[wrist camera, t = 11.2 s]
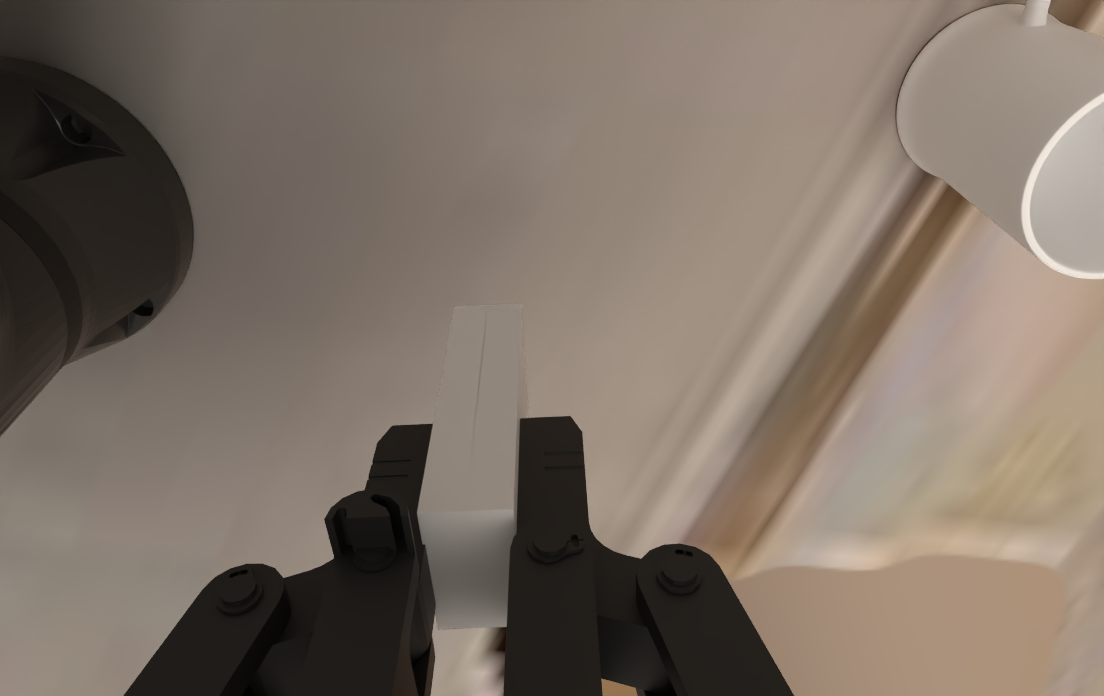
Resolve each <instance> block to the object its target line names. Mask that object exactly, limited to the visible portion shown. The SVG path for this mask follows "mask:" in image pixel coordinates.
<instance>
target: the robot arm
mask: <svg viewBox="0 0 1104 696" xmlns="http://www.w3.org/2000/svg"><path fill="white" fill-rule="evenodd" d="M192 249H193V226H192V218H191V212H190V208H189V204H188V201H187V198H186V195H185V192H184V189H183V187H182V184H181V182H180V180H179V178H178V176H177V174H176V172H175V170H174V168H173V166H172V165H171V163H170V161H169V160H168V158H167V157H166V155H165V154H164V152H163V151H162V149H161V148H160V147H159V145H158V144H157V143H156V141H155V140H154V139H153V138H152V137H151V135H150V134H149V133H148V132H147V131H146V130H145V129H144V128H143V127H142V126H141V124H140V123H139V122H138V121H137V120H136V119H134V118H133V117H132V116H131V115H130V114H129V113H128V112H127V111H126V110H124V109H123V108H122V107H121V106H119V105H118V104H117V103H116V102H114V101H113V100H112V99H110V98H109V97H107V96H106V95H105V94H103V93H101V92H100V91H98V90H97V89H95V88H94V87H92V86H90V85H88V84H86V83H85V82H83V81H81V80H79V79H77V78H75V77H73V76H71V75H69V74H66V73H64V72H61V71H59V70H56V69H53V68H51V67H48V66H45V65H41V64H38V63H34V62H30V61H25V60H20V59H13V58H5V57H0V437H1V435H2V434H3V433H4V432H5V431H6V430H7V429H8V428H9V427H10V425H11V424H12V423H13V422H14V421H15V420H16V419H17V418H18V416H19V415H20V414H21V413H22V412H23V411H24V410H25V409H26V407H27V406H28V405H29V404H30V403H31V402H32V401H33V400H34V399H35V397H36V396H37V395H38V394H39V393H40V392H41V391H42V390H43V388H44V387H45V386H46V385H47V384H48V383H49V382H50V381H51V379H52V378H53V377H54V376H55V375H56V373H57V372H58V371H59V370H60V369H61V368H62V367H63V366H64V365H66V364H69V363H71V362H73V361H76V360H78V359H80V358H83V357H85V356H87V355H90V354H92V353H94V352H97V351H99V350H101V349H104V348H106V347H108V346H111V345H113V344H115V343H118V342H120V341H122V340H124V339H126V338H128V337H130V336H132V335H133V334H135V333H137V332H138V331H139V330H141V329H142V328H143V327H145V326H146V325H147V324H149V323H150V322H151V321H152V320H153V319H154V318H155V317H156V316H157V315H158V314H159V313H160V312H161V310H162V309H163V308H164V307H165V305H166V304H167V303H168V302H169V300H170V299H171V298H172V297H173V295H174V294H175V293H176V291H177V290H178V289H179V287H180V285H181V284H182V282H183V280H184V278H185V276H186V273H187V270H188V268H189V264H190V260H191V255H192ZM324 520H325V524H326V528H327V531H328V535H329V539H330V543H331V546H332V550H333V554H334V559H333V560H331V561H329V562H328V563H326V564H324V565H322V566H320V567H317V568H315V569H312V570H310V571H306V572H303V573H300V574H296V575H293V576H290V577H286V578H283V577H282V576H281V575H280V574H279V572H278V571H277V570H276V569H275V568H273V567H270V566H267V565H264V564H245V565H241V566H238V567H234V568H231V569H229V570H227V571H225V572H223V573H222V574H220V575H218V576H217V577H215V578H214V579H213V580H212V581H211V582H210V583H209V584H208V585H207V586H206V587H205V588H204V589H203V590H202V591H201V592H200V594H199V595H198V596H197V598H196V599H195V600H194V602H193V603H192V604H191V606H190V607H189V608H188V610H187V611H186V613H185V614H184V615H183V617H182V618H181V619H180V621H179V622H178V623H177V625H176V626H175V627H174V629H173V630H172V631H171V633H170V634H169V635H168V637H167V638H166V639H165V641H164V642H163V643H162V645H161V646H160V647H159V649H158V650H157V651H156V653H155V654H154V655H153V657H152V658H151V659H150V661H149V662H148V664H147V665H146V666H145V668H144V669H143V670H142V672H141V673H140V674H139V676H138V677H137V678H136V680H135V681H134V682H133V684H132V685H131V686H130V688H129V689H128V690H127V692H126V693H125V694H124V696H430V695H431V687H432V679H433V671H434V663H435V652H434V644H433V639H432V630H433V623H434V615H435V616H436V622H437V627H438V630H439V629H463V628H487V627H507V629H506V652H505V675H504V696H602V682H601V678H602V679H606V680H610V681H613V682H617V683H620V684H624V685H628V686H631V687H635V688H636V691H637V695H638V696H794V695H793V693H792V691H791V690H790V688H789V686H788V684H787V683H786V681H785V679H784V678H783V676H782V674H781V672H780V670H779V669H778V667H777V665H776V664H775V662H774V660H773V658H772V657H771V655H770V653H769V651H768V650H767V648H766V646H765V645H764V643H763V641H762V640H761V638H760V636H759V634H758V632H757V631H756V629H755V627H754V625H753V624H752V622H751V620H750V619H749V617H748V615H747V613H746V611H745V610H744V608H743V606H742V604H741V603H740V601H739V599H738V598H737V596H736V594H735V592H734V591H733V589H732V587H731V585H730V584H729V582H728V580H727V578H726V577H725V575H724V573H723V571H722V570H721V568H720V566H719V565H718V564H717V563H716V562H715V560H714V559H713V558H712V557H711V556H710V555H709V554H707V553H705V552H704V551H702V550H700V549H698V548H696V547H693V546H688V545H683V544H668V545H662V546H660V547H657V548H655V549H652V550H650V551H649V552H648V553H647V554H646V555H645V556H644V557H643V558H642V559H640V558H635V557H631V556H626V555H623V554H620V553H617V552H614V551H612V550H610V549H609V548H607V547H605V546H604V545H602V544H601V543H600V542H599V541H598V540H597V539H596V538H595V536H594V535H593V533H592V531H591V529H590V525H589V519H588V505H587V492H586V478H585V465H584V452H583V438H582V431H581V430H580V429H579V427H578V426H577V424H576V423H575V422H574V420H573V419H572V418H571V416H562V417H539V418H528V391H527V377H526V363H525V350H524V336H523V323H522V309H521V303H517V304H495V305H473V306H454V310H453V316H452V322H451V327H450V333H449V338H448V344H447V349H446V355H445V360H444V366H443V371H442V377H441V382H440V388H439V394H438V399H437V405H436V410H435V416H434V421H433V424H419V425H396V426H392V427H391V428H390V429H389V430H388V431H387V432H386V434H385V435H384V436H383V437H382V438H381V439H380V440H379V442H378V443H377V446H376V450H375V454H374V458H373V465H371V469H370V473H369V480H367V484H366V488H365V490H364V491H358V492H355V493H353V494H351V495H349V496H347V497H344V498H342V499H341V500H340V501H339V502H337V503H336V504H335V505H334V506H333V507H331V509H330V510H329V512H328V514H327V516H326V517H325V519H324Z"/></svg>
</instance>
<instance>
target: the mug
mask: <svg viewBox="0 0 1104 696" xmlns="http://www.w3.org/2000/svg"><path fill="white" fill-rule="evenodd" d="M1050 1H1051V0H1027V2H1026V5H1021V4H1002V5H995V6H990V7H986V8H983V9H980V10H977V11H974V12H972V13H969V14H967V15H965V16H963V17H961V18H960V19H958V20H956V21H955V22H953V23H951V24H950V25H949V26H947V27H946V28H944V29H943V30H942V31H941V32H939V33H938V34H937V35H936V36H935V37H934V38H933V39H932V40H931V41H930V42H929V43H928V44H927V45H926V46H925V47H924V49H923V50H922V51H921V52H920V54H919V55H918V56H917V58H916V59H915V61H914V62H913V64H912V65H911V67H910V69H909V71H908V73H907V75H906V77H905V79H904V82H903V84H902V87H901V90H900V94H899V98H898V103H897V114H896V118H897V129H898V134H899V137H900V140H901V143H902V145H903V147H904V149H905V151H906V153H907V154H908V155H909V157H910V158H911V159H912V160H913V161H914V163H916V164H917V165H918V166H919V167H920V168H922V169H923V170H924V171H926V172H928V173H930V174H932V175H934V176H936V177H939V178H941V179H943V180H944V181H945V182H946V183H948V184H949V185H950V186H951V187H953V188H954V189H955V190H956V191H957V192H959V193H960V194H961V195H962V196H963V197H965V198H966V199H967V200H968V201H969V202H970V203H972V204H973V205H974V206H975V207H976V208H978V209H979V210H980V211H981V212H982V213H984V214H985V215H986V216H987V217H988V218H990V219H991V220H992V221H993V222H994V223H996V224H997V225H998V226H999V227H1000V228H1002V229H1003V230H1004V231H1005V232H1006V233H1008V234H1009V235H1010V236H1011V237H1012V238H1014V239H1015V240H1016V241H1017V242H1018V243H1020V244H1021V245H1022V246H1023V247H1024V248H1026V249H1027V250H1028V251H1029V252H1030V253H1032V254H1033V255H1034V256H1035V257H1036V258H1038V259H1039V260H1040V261H1041V262H1043V263H1044V264H1045V265H1047V266H1048V267H1050V268H1052V269H1053V270H1055V271H1058V272H1060V273H1062V274H1065V275H1068V276H1072V277H1077V278H1084V279H1104V38H1102V37H1100V36H1097V35H1094V34H1091V33H1088V32H1085V31H1082V30H1079V29H1076V28H1074V27H1071V26H1068V25H1065V24H1062V23H1060V22H1059V21H1058V20H1057V19H1056V18H1054V17H1053V16H1052V15H1050V14H1048V8H1049V5H1050Z"/></svg>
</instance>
